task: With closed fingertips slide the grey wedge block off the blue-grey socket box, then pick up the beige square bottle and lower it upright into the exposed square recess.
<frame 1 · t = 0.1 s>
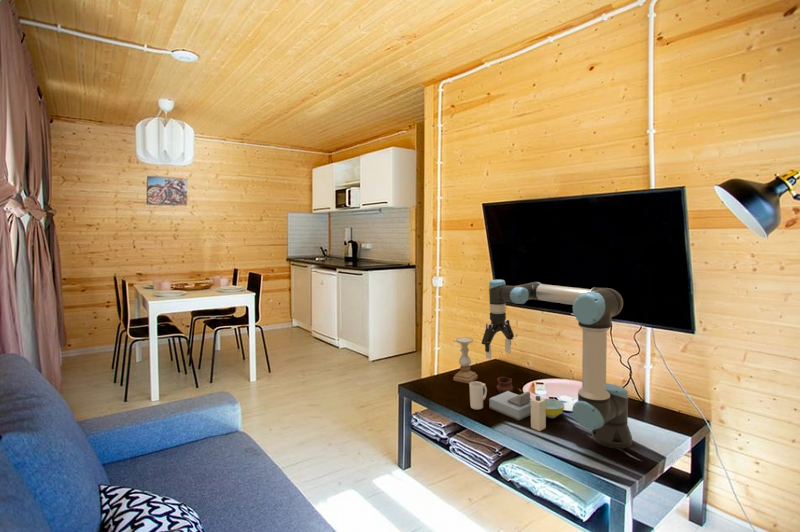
hand: (498, 355, 212), 28 cm above the table, fingers open, 13 cm apart
socket: (513, 409, 215), on the table
mug: (479, 406, 221), on the table
beige square bottle: (538, 427, 196), on the table
ceramic pot: (504, 392, 238), on the table
candle holder: (465, 379, 258), on the table
bowl: (551, 416, 207), on the table
grey wedge block: (518, 397, 211), point 8 cm above the table, slide at 0.0 cm
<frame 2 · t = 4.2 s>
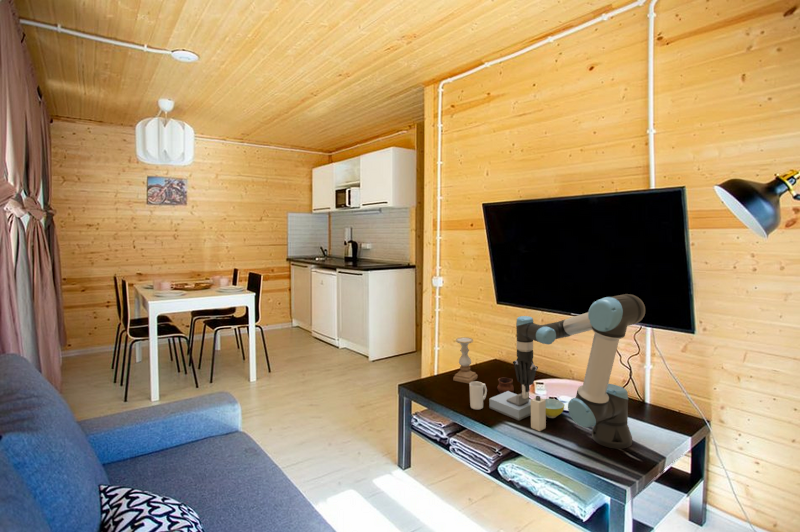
hand: (525, 397, 208), 9 cm above the table, fingers closed
grey wedge block: (517, 396, 212), point 8 cm above the table, slide at 0.7 cm, touching gripper
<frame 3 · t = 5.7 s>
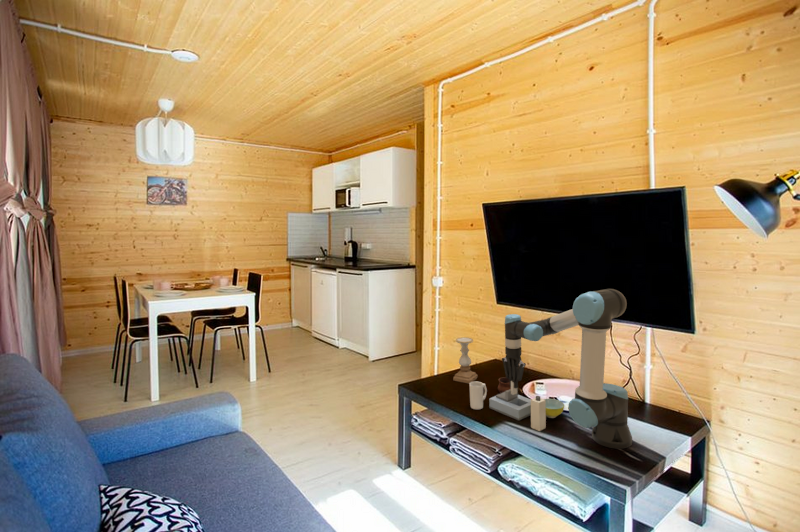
hand: (513, 393, 213), 8 cm above the table, fingers closed
grey wedge block: (506, 392, 217), point 8 cm above the table, slide at 7.4 cm, touching gripper
everything else where it was.
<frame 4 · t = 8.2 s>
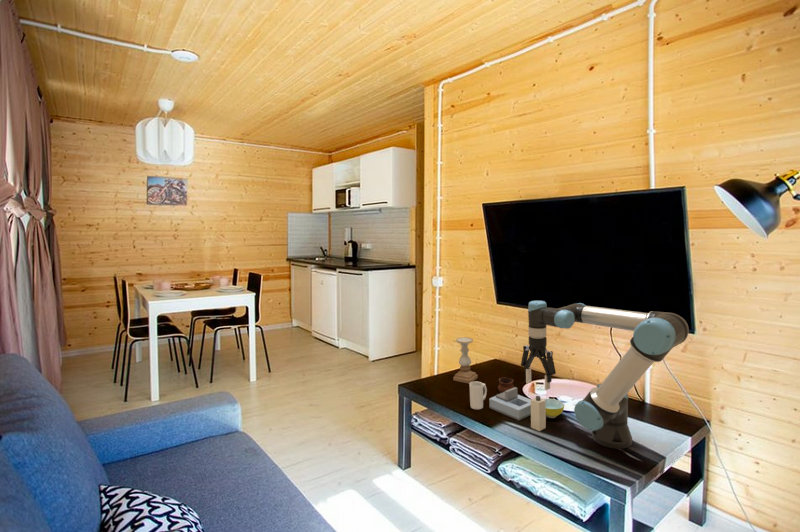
hand: (537, 385, 194), 20 cm above the table, fingers open, 9 cm apart
grey wedge block: (506, 392, 217), point 8 cm above the table, slide at 7.5 cm
everything else where it was.
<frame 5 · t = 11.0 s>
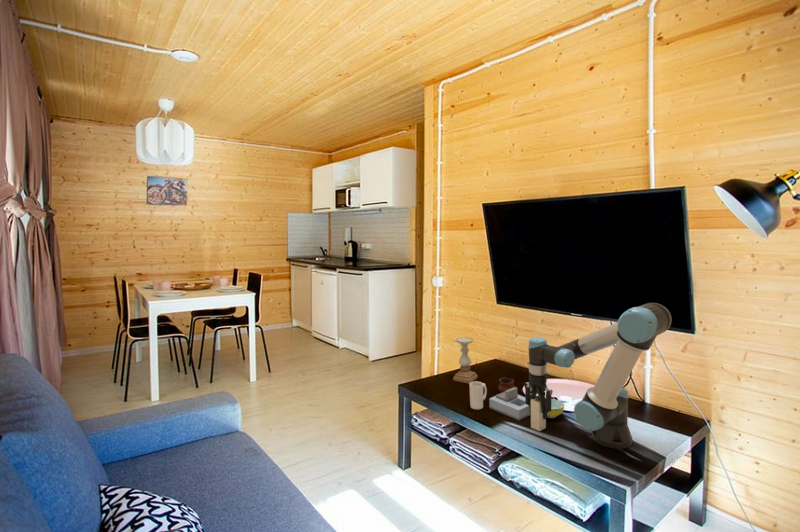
hand: (538, 423, 196), 2 cm above the table, fingers closed on beige square bottle, 4 cm apart
beige square bottle: (538, 427, 196), on the table, touching gripper
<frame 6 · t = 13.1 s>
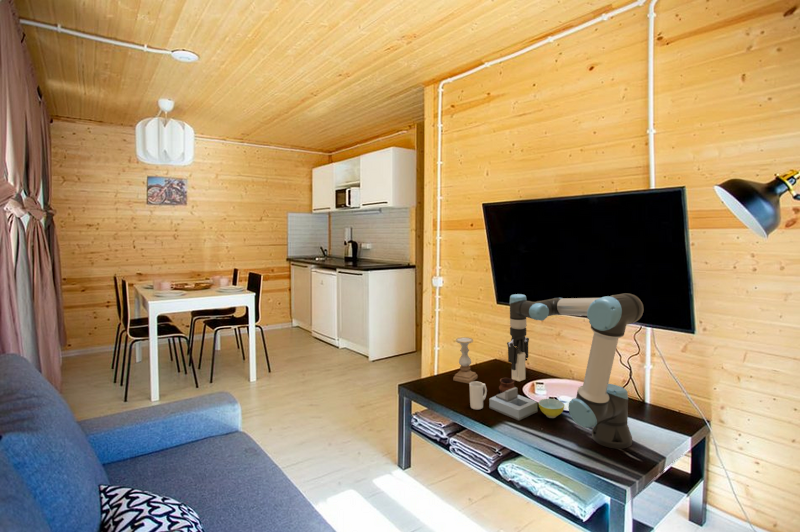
hand: (518, 374, 210), 19 cm above the table, fingers closed on beige square bottle, 4 cm apart
beige square bottle: (518, 379, 210), point 17 cm above the table, touching gripper
when the fingers open (6 cm above the table, at t = 15.7 s): beige square bottle drops 3 cm, resting on socket.
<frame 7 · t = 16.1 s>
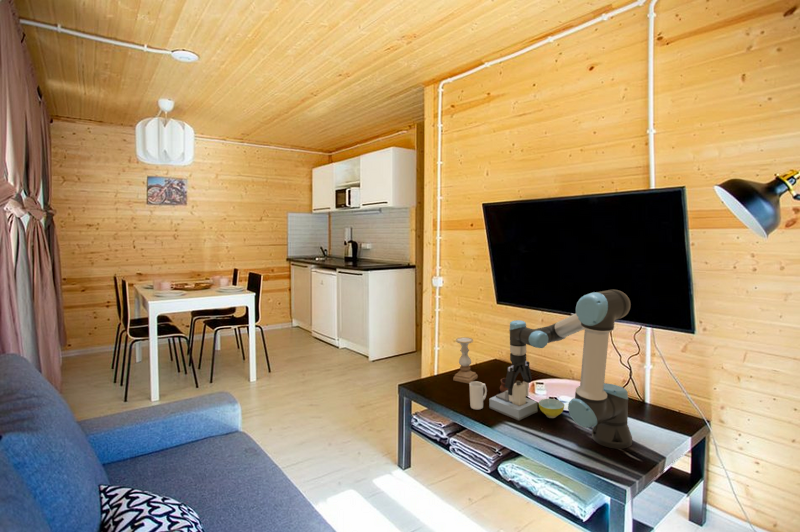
hand: (518, 398, 211), 7 cm above the table, fingers open, 10 cm apart
beige square bottle: (519, 410, 212), point 1 cm above the table, touching socket
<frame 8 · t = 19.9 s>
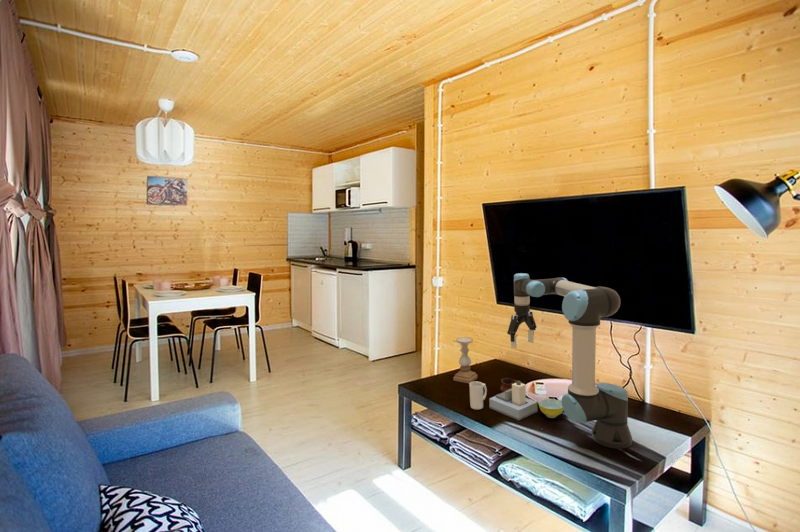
hand: (522, 345, 224), 29 cm above the table, fingers open, 13 cm apart
at the end: beige square bottle 0.0 cm from the target spot on the socket, point 1.0 cm above the socket's base; beige square bottle tilted 0°; grey wedge block slide at 7.5 cm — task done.
